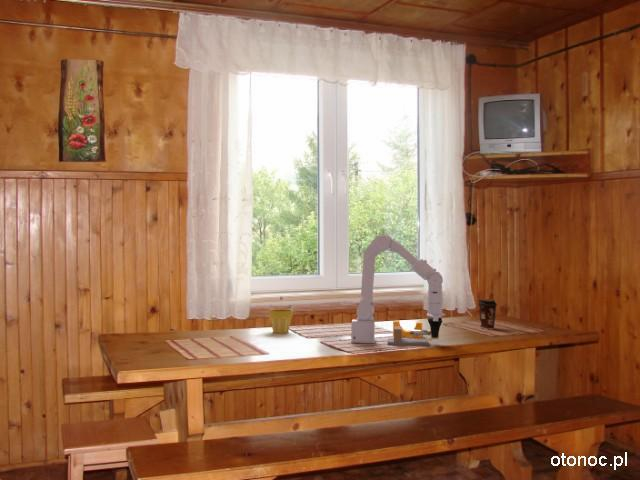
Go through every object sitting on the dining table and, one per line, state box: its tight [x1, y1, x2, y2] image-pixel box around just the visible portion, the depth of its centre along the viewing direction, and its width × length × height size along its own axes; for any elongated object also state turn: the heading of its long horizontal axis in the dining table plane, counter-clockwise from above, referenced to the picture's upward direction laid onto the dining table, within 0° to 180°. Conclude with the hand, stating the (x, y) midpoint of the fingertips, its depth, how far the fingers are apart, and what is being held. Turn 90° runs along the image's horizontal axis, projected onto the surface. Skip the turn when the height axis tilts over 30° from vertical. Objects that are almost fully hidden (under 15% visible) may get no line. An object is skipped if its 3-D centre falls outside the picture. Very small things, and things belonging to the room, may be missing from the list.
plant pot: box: [268, 308, 294, 334], centre depth 298 cm, size 10×10×10 cm
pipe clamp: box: [392, 320, 424, 339], centre depth 289 cm, size 12×4×6 cm, turn 67°
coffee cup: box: [478, 298, 498, 330], centre depth 313 cm, size 9×8×13 cm
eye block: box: [386, 325, 430, 347], centre depth 272 cm, size 16×8×6 cm, turn 83°
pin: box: [410, 329, 440, 340], centre depth 271 cm, size 11×3×4 cm, turn 83°
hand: (434, 336), depth 270 cm, fingers closed on pin, 3 cm apart
